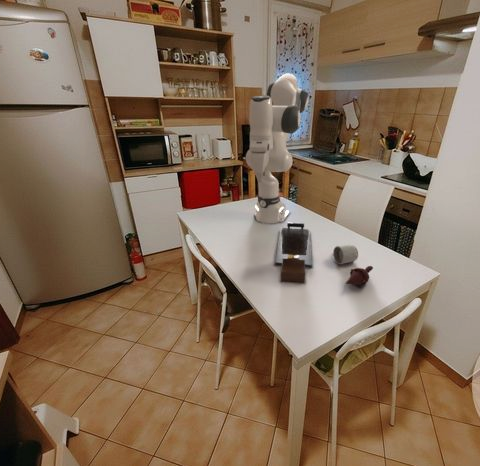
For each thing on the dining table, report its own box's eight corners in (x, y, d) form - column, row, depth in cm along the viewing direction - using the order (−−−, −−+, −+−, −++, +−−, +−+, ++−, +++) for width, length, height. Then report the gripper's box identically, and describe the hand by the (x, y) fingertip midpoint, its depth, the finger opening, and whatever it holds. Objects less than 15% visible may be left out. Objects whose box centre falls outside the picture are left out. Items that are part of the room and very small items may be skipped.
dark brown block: (304, 283, 100) (305, 273, 97) (280, 281, 100) (281, 271, 98) (304, 269, 108) (305, 259, 105) (282, 268, 108) (282, 258, 106)
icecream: (358, 284, 90) (381, 271, 98) (342, 269, 94) (366, 258, 103) (350, 297, 94) (373, 283, 102) (335, 282, 98) (358, 271, 107)
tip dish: (309, 228, 97) (309, 222, 100) (282, 227, 98) (282, 221, 101) (306, 255, 108) (306, 249, 110) (281, 254, 109) (282, 248, 111)
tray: (311, 268, 109) (311, 264, 108) (275, 265, 110) (275, 262, 109) (309, 233, 136) (309, 230, 135) (280, 231, 137) (280, 228, 137)
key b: (291, 250, 119) (291, 251, 119) (287, 251, 118) (287, 252, 118) (300, 257, 114) (300, 258, 114) (295, 258, 113) (295, 259, 113)
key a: (298, 250, 117) (298, 251, 117) (293, 249, 118) (293, 249, 119) (291, 258, 113) (291, 259, 113) (286, 257, 114) (286, 258, 114)
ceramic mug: (358, 264, 111) (360, 248, 108) (341, 267, 109) (343, 251, 105) (343, 252, 120) (346, 237, 117) (328, 255, 118) (330, 240, 114)
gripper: (257, 139, 110) (257, 172, 116) (248, 147, 92) (249, 186, 98) (272, 139, 109) (272, 172, 116) (266, 148, 91) (266, 186, 98)
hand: (261, 178), depth 107 cm, fingers open, 8 cm apart
